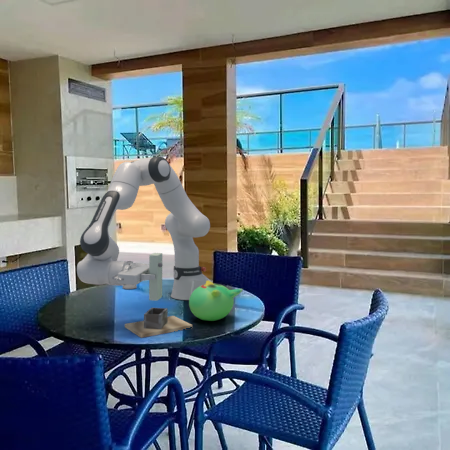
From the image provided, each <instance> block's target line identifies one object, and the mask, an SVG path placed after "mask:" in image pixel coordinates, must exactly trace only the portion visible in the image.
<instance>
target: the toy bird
mask: <svg viewBox="0 0 450 450" xmlns="http://www.w3.org/2000/svg"><path fill="white" fill-rule="evenodd" d="M211 281H212V280H211ZM211 281H206V284H204V285H201V286H199V287H198V288H196V289H195V290H194V291H193V293H192V294H191V296H190V299H189V300H188V306H189V307H188V308H189V310H190V311H191V313H192V314H193V316H194V317H196V318H198V319H200V320H202V321H206V322H214V321H219V320H221V319H224V318H225V317H227V316H228V315H229V314H230V312H231V311H232V309H233V307H234V303H235V301H234V300H235V299H234V298H235V297H237V296H238V295H239V294H241V293H242V292H243V289H244V288H235V289H229V288H228V287H226V286H225V285H222V284H219V283H214V282H213V281H212V282H213V283H212V282H211Z"/></svg>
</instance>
